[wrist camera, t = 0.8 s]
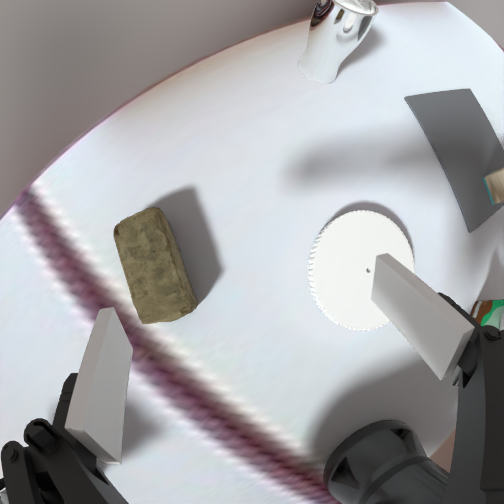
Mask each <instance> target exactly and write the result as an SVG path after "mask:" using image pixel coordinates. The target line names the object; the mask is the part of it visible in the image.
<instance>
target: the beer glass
mask: <svg viewBox="0 0 504 504" xmlns="http://www.w3.org/2000/svg"><path fill="white" fill-rule="evenodd" d="M377 13H378V7H377V5H376V4H375V3H374V1H372V0H318V3H317V4H316V7H315V9H314V11H313V14H312V17H311V22H310V28H309V36H308V43H307V47H306V50H305V52H304V53H303V54H302V56H301V57H300V58H299V60H298V63H297V67H298V70H299V72H300V73H301V74H302V75H303V76H304V77H305V78H306V79H308V80H310V81H312V82H314V83H318V84H328V83H331V82H333V81H334V80H335V78H336V76H337V72H338V68H339V66H340V64H341V63H342V61H343V60H344V59H345V58H346V57H347V56H348V55H349V54H350V53H351V52H352V51H353V50H354V49H355V48H356V47H357V46H358V45H359V44H360V43H361V42H362V40H363V39H364V37H365V36H366V34H367V33H368V31H369V29H370V27H371V25H372V23H373V21H374V19H375V17H376V15H377Z"/></svg>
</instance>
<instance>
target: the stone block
mask: <svg viewBox="0 0 504 504" xmlns="http://www.w3.org/2000/svg"><path fill="white" fill-rule="evenodd" d="M114 239H115V242H116V246H117V250H118V253H119V257H120V261H121V264H122V267H123V270H124V273H125V277H126V280H127V283H128V286H129V290H130V294H131V297H132V301H133V304H134V306H135V308H136V310H137V313H138V316H139V319H140V320H141V321H142V323H143V324H151V323H156V322H171V321H174V320H177V319H179V318H181V317H184V316H185V315H186V314H189V313H191V312H192V311H193V310H194V309H196V307H197V305H198V303H197V301H196V298H195V295H194V293H193V290H192V287H191V285H190V282H189V279H188V277H187V274H186V271H185V268H184V265H183V261H182V258H181V255H180V251H179V248H178V246H177V244H176V241H175V238H174V236H173V233H172V230H171V227H170V225H169V222H168V221H167V219H166V218H165V216H164V214H163V212H162V211H161V210H160V209H159V208H155V207H152V208H148V209H146V210H144V211H141V212H138V213H136V214H134V215H132V216H130V217H127V218H126V219H124V220H122V221H121V222H120V223H119V224H118V225H116V226H115V228H114Z"/></svg>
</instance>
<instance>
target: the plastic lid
mask: <svg viewBox="0 0 504 504" xmlns="http://www.w3.org/2000/svg"><path fill="white" fill-rule="evenodd" d="M405 237H406V236H405V235H403V232H402V231H400V228H399V227H397V225H396V224H394V222H393V221H390V219H389V218H386V216H382V214H378V212H375V213H374V211H371V212H369V210H367V211H365V210H362V211H360V210H358V211H353V212H349V213H346V214H344V215H342V216H340V217H338V218H336V219H334V220H333V221H331V222H330V223H329V224H327V226H325V227H324V230H322V231H321V234H319V235H318V238H317V239H316V240H315V243H314V244H313V248H312V249H311V251H312V253H311V254H310V255H309V256H310V259H309V261H308V262H309V265H308V268H309V270H308V273H309V276H308V279H310V281H309V284H310V285H311V287H310V290H312V292H311V293H312V295H314V297H313V298H314V300H316V304H317V305H319V309H322V312H323V313H325V316H327V317H329V319H330V320H333V322H335V323H337V324H338V325H341V326H343V327H345V328H349V329H351V330H356V331H358V330H359V331H362V330H364V331H367V330H369V331H370V330H372V329H374V330H375V329H376V328H380V326H384V324H388V322H389V321H390V320H389V319H388V318H387V317H386V315H385V314H384V313H383V312H382V311H381V310H380V309H379V308H378V306H377V305H376V304H375V303H374V302H373V301H372V300H371V294H372V287H373V279H374V271H375V262H376V256H377V255H381V254H385V253H388V254H390V255H391V256H392V257H394V258H395V259H396V260H397V261H399V262H400V263H401V264H402V265H404V266H405V267H406V268H407V269H409V270H410V271H411V272H412V273H414V270H415V268H414V263H413V260H414V258H413V257H412V256H413V253H411V251H412V250H411V248H410V244H408V240H407V239H406V238H405ZM414 274H415V273H414Z"/></svg>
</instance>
